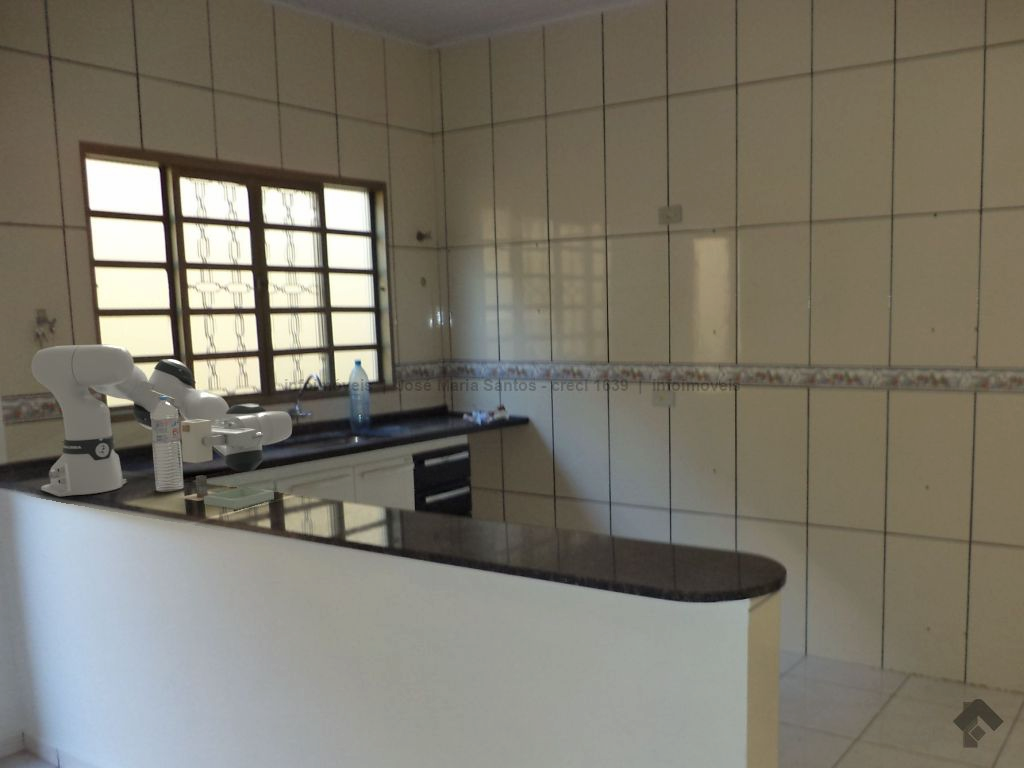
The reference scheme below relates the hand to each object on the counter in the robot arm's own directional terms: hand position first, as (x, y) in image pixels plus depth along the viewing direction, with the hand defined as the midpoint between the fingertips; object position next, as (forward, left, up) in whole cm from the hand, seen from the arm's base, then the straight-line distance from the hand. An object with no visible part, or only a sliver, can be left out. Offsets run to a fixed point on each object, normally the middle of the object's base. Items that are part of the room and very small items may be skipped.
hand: (195, 440), depth 207 cm
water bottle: (-16, +3, -15) cm, 22 cm away
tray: (+14, +1, -15) cm, 20 cm away
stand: (0, +1, -15) cm, 15 cm away
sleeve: (0, 0, -5) cm, 5 cm away
